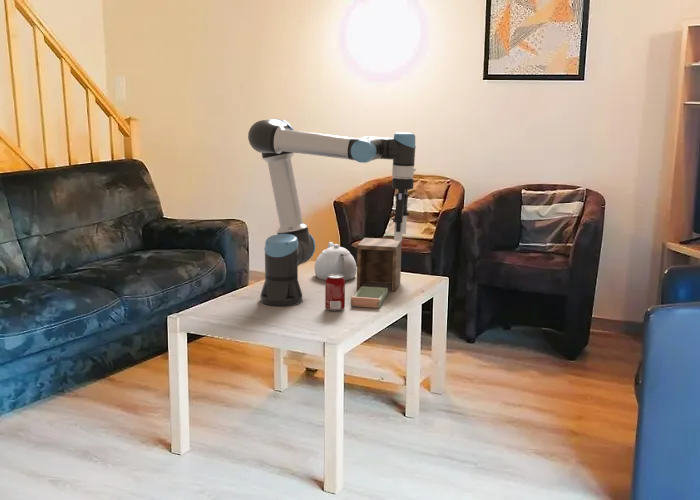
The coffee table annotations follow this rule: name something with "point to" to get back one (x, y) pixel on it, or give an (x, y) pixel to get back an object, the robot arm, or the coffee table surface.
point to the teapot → (335, 262)
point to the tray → (369, 297)
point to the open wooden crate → (379, 262)
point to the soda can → (335, 292)
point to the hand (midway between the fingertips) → (400, 237)
